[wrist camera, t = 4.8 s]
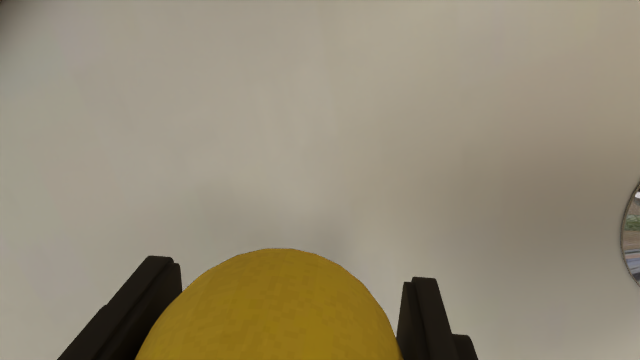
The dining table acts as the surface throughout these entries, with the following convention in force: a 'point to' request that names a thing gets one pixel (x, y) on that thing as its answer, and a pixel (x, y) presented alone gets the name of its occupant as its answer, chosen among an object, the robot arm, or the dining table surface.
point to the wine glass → (632, 236)
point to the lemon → (273, 314)
